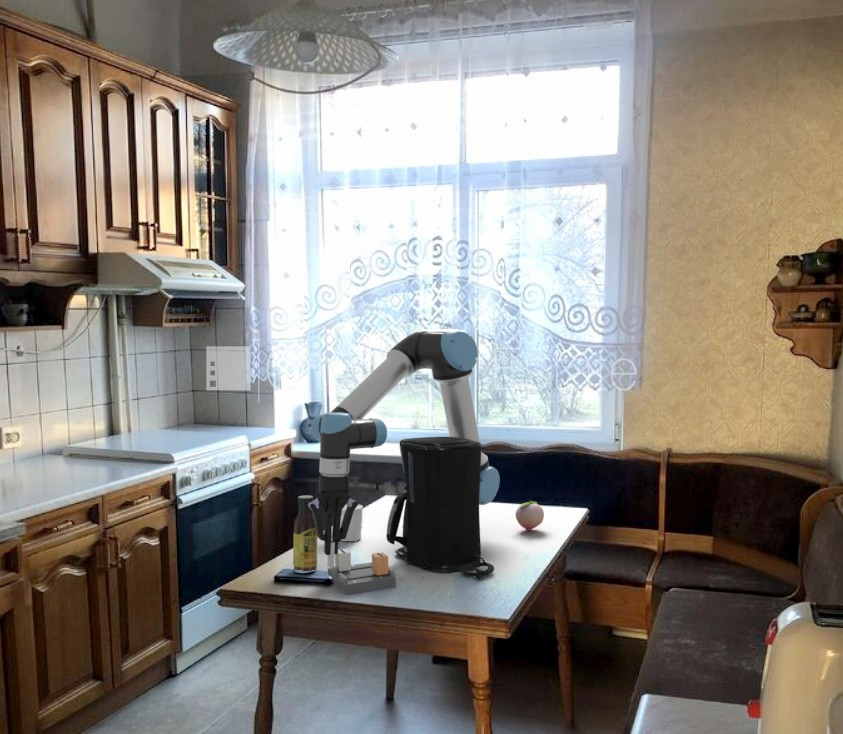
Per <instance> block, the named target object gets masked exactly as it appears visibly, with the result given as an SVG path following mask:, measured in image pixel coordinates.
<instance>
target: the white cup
mask: <svg viewBox="0 0 843 734" xmlns="http://www.w3.org/2000/svg"><path fill="white" fill-rule="evenodd" d="M363 507H364V506H363V505H362V504H359V503H358V506H357V507H356V508H355V510H354V512H353V515H352V519H351V522H350V525H349V529H348V532H347V535H346V538H345V539H342V541H355V542H357V541H356V540H359V539H360V540H361V539H362V528H363V511H364V510H363ZM346 508H347V503H346V505H345V506H344V508H343V509H342V515H341V522H340V528H341V524H342V521H343V518H344V514H345V511H346ZM360 540H359V541H360ZM342 541H341V542H342Z"/></svg>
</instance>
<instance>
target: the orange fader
mask: <svg viewBox="0 0 843 734" xmlns="http://www.w3.org/2000/svg"><path fill="white" fill-rule="evenodd" d="M371 562H372V572H373V573H375V574H376V575H384V574H388V567H389V555H387V554H386V553H385V552H376V553H371Z"/></svg>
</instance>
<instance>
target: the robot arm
mask: <svg viewBox="0 0 843 734" xmlns="http://www.w3.org/2000/svg"><path fill="white" fill-rule="evenodd" d="M478 353H479V352H478V346H477V343H476V341H475V339H474V338H473V336H472V335H471V334H470V333H468V332H467V331H465V330H461V329H456V328H448V329H444V328H443V329H429V328H428V329H427V328H426V329H425V328H424V329H421V330H417V331H415V332H413V333H411V334H409V335H407V336H406V337H404V338H403V339H401V340H400V341H399V342H397V344H395V345H394V346H393V347H392V348H391V349H390V350H389V351H388V352H387V354H386V358H385V359H384V360H383V362H381V363H380V364H379V365H378V366H377V367H376V368H375V369H374V370H373V371H372V372H371V373H370V374H369V375H367V377H366V378H365V379H363V381H361V383H359V384H358V385H357V387H356V388H354V389H353V390H352V391H351V392H350V393H349V394H348V395H347V396H346V397H345V398H344V399H342V401H340V402H339V404H338V405H337V406H335V408H333V409H332V410H331V411H330V412H325V413H323V414H319V415H316V416H315V417H314V418H313V420H312V421H311V424H310V432H311V435H312V437H313V438H314V439H315V440H316V441H319V442H320V444H319V445H320V448H319V451H320V452H319V467H318V468H319V470H318V472H319V473H320V474H319V475H318V492H317V494H316V496H315V497H316V499H313V502H309V503H308V506H309V508H310V509H311V511H312V515H313V519H314V524H315V528H316V532H317V539H319V540H320V541H322V542H323V541H324V548H323V549H324V550H323V552H324V554H325V555H326V556H327V563H326V564H327V565H326V566H327V567H328V568H330V569H333V568H334V567H335V554H337V553H338V550H339V543H341V541H340V540H342V539H345V538H346V535H347V532H348V529H349V525H350V522H351V519H352V515H353V512H354V510H355V508H356V507H357V506H358V504H359V502H357V501H356V500H354V499H352V498H351V494H350V492H349V488H350V484H349V483H350V476H349V473H350V461H351V460H350V459H351V450H356V449H357V450H358V449H374V448H376V447H377V448H379V447H381V446H383V445H384V444H385V443H386V440H387V438H388V429H387V425H386V424H385V422H384V421H383V420H381V419H379V418H370V417H369V418H365V417H366V416H367V415H368V414H369V413H370V412H371V411H372V410H373V409H374V408H375V407H376V406H377V405H378V404H379V403H380V402H381V401H382V400H383V399H384V398H386V396H387V395H388V394H389V393H390V392H391V391H392V390H393V389H394V388H395V387H397V385H398V384H399V383H400V382H401V381H402V380H403V379H404V378H409V377H411V376H412V375H413V374H414V373H415V372H417V371H419V370H422V369H429V370H431V372H432V377H433V378H432V379H433V380H434V381H435V382H437V383H438V384H439V387H440V394H441V397H442V403H443V409H444V414H445V418H446V422H447V423H446V424H447V430H448V435H449V437H457V438H465V439H469V440H471V441H476V442H480V441H481V440H480V436H479V429H478V425H477V419H476V412H475V408H474V402H473V395H472V391H471V386H470V385H471V384H470V380H469V378H470V376H471V375H472V374H473V368H474V367H475V366H476V364H477V358H478V356H479V355H478ZM480 443H481V442H480ZM499 473H500V472H499V471H498V469H496V468H495V467H493V466H492V465H491V466H490V463H489V458H488V455H486V454H485V453H483V451H482V450H481V469H480V494H479V506H485V505H488V504H490V503H491V502H492V501H493V500H494V499H495V497H496V495H497V492H498V491H499V487H500V481H501V479H500V474H499ZM319 504H320V505H319ZM346 504H347V508H346V511H345V514H344V518H343V521H342V524H341V528H340V522H341V515H342V509H343V508H344V506H345V505H346ZM320 506H321V508H322V509H323V514H324V516H323V517H324V523H323V524H324V525H323V524H322V519H321V515H320V511H319V508H320Z"/></svg>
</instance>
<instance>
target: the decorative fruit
mask: <svg viewBox="0 0 843 734" xmlns="http://www.w3.org/2000/svg"><path fill="white" fill-rule="evenodd" d="M544 517H545V512H544V509H543V508H542V505H540V504H539V503H538V502H537V501H535V500H534V501H532V500H531V499H530V498H529V499H528V502H523V503H521V504H520V505H519V506H518V507H517V509H516V511H515V519H516V521H517V523H518V524H519V526H520V527H522V528H523V529H524V530H526V531H529V532H530V531H532V530H533V529H535V528H537V527H538V526H540V525H541V524H542V523H543V521H544Z"/></svg>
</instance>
